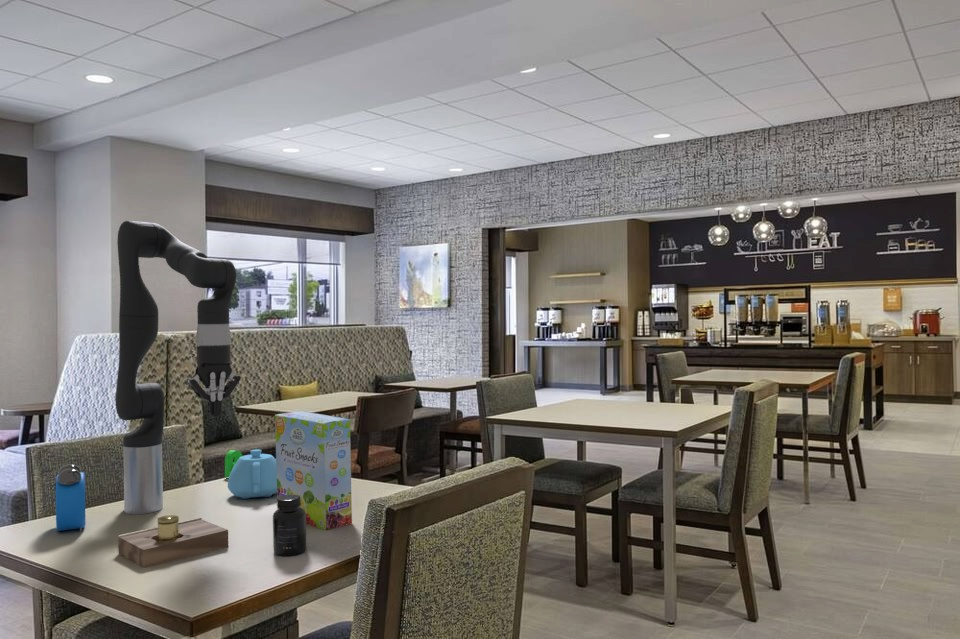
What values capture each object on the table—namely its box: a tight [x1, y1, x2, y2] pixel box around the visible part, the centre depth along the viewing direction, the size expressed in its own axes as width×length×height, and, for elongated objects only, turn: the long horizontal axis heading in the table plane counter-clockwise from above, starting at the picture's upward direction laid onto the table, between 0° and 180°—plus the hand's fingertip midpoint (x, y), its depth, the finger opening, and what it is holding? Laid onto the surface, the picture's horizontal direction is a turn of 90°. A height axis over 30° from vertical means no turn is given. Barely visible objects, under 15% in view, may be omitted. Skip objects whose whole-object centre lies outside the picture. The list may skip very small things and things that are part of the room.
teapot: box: [227, 449, 277, 500], centre depth 208 cm, size 20×20×13 cm
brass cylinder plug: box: [157, 514, 180, 542], centre depth 155 cm, size 4×4×8 cm
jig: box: [117, 517, 229, 569], centre depth 157 cm, size 13×18×4 cm
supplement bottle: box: [272, 495, 308, 558], centre depth 155 cm, size 7×7×12 cm
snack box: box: [274, 410, 353, 531], centre depth 181 cm, size 22×9×26 cm, turn 47°
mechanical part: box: [224, 449, 243, 478], centre depth 235 cm, size 12×6×8 cm, turn 154°
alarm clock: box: [54, 463, 86, 532], centre depth 175 cm, size 13×6×15 cm, turn 29°
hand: (214, 416), depth 173 cm, fingers closed
